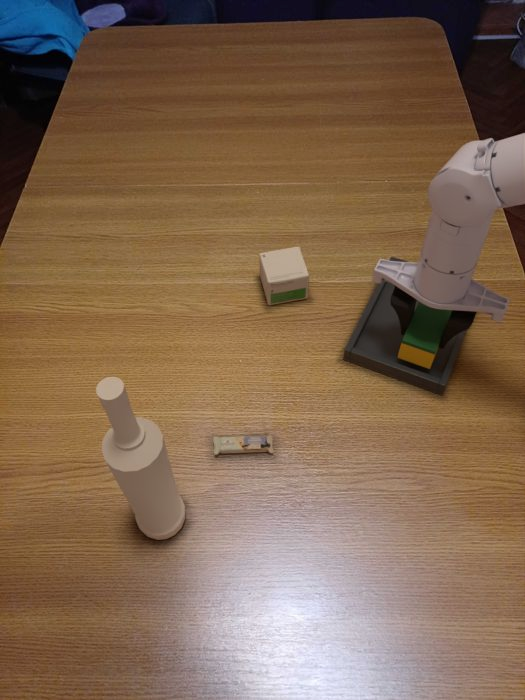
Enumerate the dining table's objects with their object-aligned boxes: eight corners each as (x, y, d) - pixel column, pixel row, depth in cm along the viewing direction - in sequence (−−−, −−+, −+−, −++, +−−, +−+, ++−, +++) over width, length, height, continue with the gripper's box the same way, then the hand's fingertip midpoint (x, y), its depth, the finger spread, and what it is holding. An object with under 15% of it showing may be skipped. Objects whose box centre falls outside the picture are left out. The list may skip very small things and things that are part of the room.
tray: (479, 295, 82) (483, 284, 81) (442, 395, 73) (445, 386, 71) (389, 266, 86) (391, 256, 84) (342, 359, 77) (344, 349, 75)
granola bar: (213, 457, 69) (212, 452, 68) (213, 438, 70) (213, 434, 69) (273, 455, 69) (273, 450, 68) (272, 436, 70) (272, 432, 69)
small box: (267, 307, 82) (267, 282, 78) (259, 276, 85) (258, 251, 81) (309, 300, 83) (310, 274, 79) (298, 269, 86) (299, 244, 82)
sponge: (429, 369, 73) (435, 351, 70) (397, 357, 74) (402, 340, 71) (446, 327, 76) (452, 309, 74) (415, 317, 78) (420, 298, 75)
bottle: (141, 548, 63) (77, 426, 43) (134, 501, 66) (71, 368, 46) (191, 534, 64) (150, 408, 44) (181, 489, 67) (139, 352, 47)
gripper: (529, 250, 63) (492, 332, 74) (394, 211, 67) (378, 294, 78) (514, 296, 59) (478, 375, 70) (372, 252, 63) (358, 334, 74)
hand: (424, 335), depth 74 cm, fingers closed on sponge, 4 cm apart
